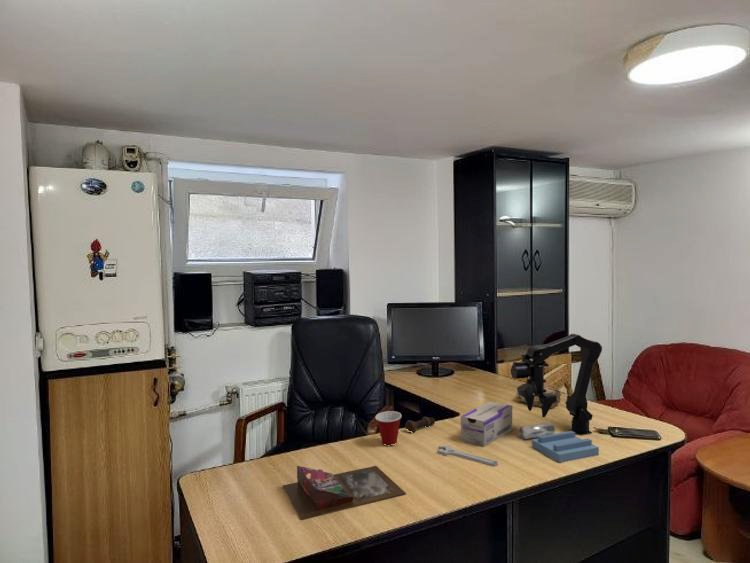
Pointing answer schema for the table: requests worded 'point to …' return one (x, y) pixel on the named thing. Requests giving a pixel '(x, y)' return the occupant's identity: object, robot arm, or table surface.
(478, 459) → the adjustable wrench
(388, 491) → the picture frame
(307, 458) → the table surface
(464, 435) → the surgical sutures box
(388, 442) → the plastic cup
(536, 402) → the petrified wood
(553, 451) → the cradle
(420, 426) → the bolt
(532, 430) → the axle
